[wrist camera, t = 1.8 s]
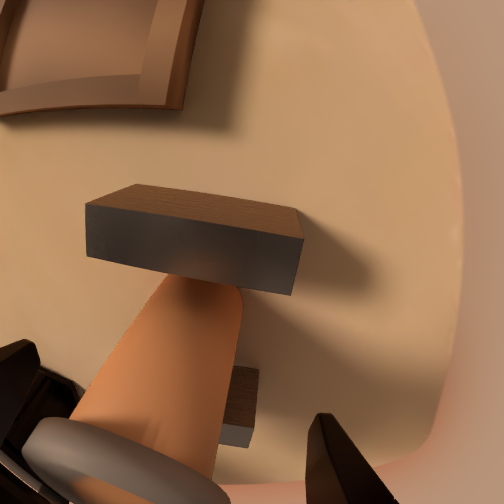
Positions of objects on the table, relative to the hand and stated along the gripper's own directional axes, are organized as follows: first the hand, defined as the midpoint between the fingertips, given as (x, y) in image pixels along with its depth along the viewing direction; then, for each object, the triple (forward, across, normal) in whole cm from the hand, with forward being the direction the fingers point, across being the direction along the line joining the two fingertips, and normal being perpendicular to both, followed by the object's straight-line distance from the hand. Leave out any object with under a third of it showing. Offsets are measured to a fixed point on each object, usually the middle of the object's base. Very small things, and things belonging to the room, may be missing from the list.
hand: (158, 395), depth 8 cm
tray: (+5, +7, -13) cm, 16 cm away
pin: (+5, 0, 0) cm, 5 cm away
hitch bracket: (+5, 0, 0) cm, 5 cm away
